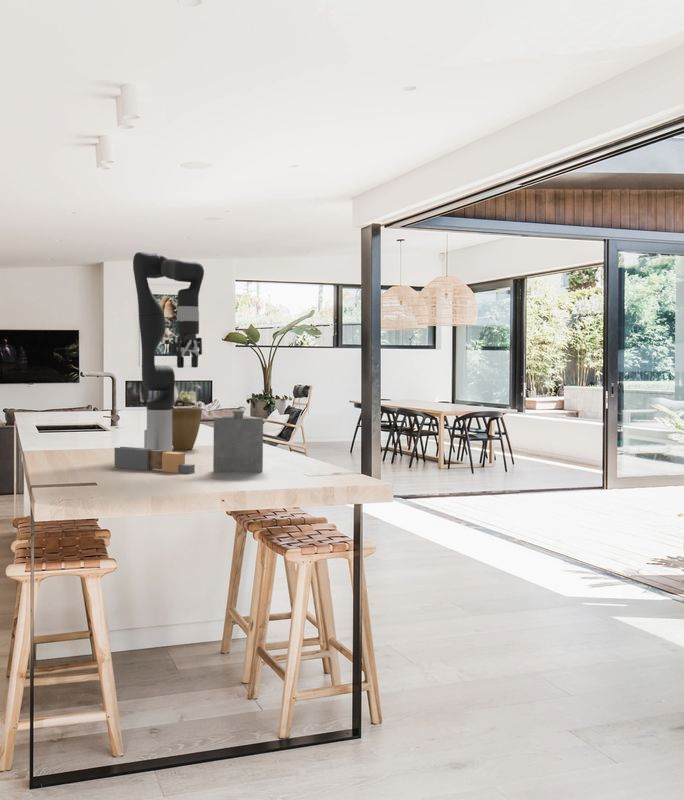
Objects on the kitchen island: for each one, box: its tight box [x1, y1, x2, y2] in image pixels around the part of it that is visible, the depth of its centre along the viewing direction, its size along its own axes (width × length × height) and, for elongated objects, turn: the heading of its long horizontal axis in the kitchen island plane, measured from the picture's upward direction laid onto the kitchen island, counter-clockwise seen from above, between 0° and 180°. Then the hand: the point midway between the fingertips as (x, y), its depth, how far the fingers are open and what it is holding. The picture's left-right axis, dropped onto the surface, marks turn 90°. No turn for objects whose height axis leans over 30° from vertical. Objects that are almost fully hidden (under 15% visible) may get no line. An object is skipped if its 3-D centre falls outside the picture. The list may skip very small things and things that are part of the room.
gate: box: [149, 450, 167, 471], centre depth 280 cm, size 14×1×6 cm, turn 66°
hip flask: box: [212, 409, 264, 473], centre depth 278 cm, size 16×4×20 cm, turn 94°
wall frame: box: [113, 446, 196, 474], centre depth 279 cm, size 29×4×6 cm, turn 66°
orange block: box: [161, 451, 186, 474], centre depth 276 cm, size 6×4×6 cm, turn 67°
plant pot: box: [172, 407, 203, 451], centre depth 338 cm, size 15×15×16 cm
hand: (187, 367), depth 294 cm, fingers open, 8 cm apart
